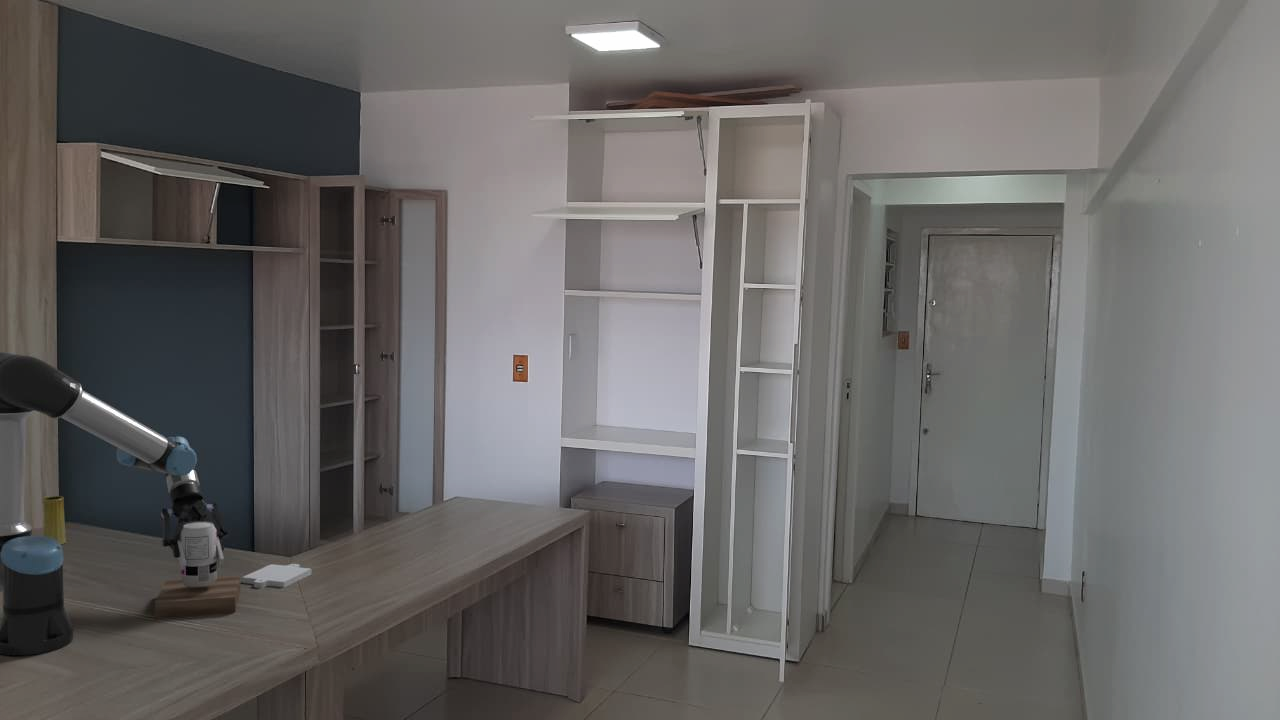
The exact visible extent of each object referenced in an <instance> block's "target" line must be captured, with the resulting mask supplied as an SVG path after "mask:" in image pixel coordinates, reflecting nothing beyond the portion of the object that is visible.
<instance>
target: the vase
mask: <svg viewBox="0 0 1280 720" xmlns="http://www.w3.org/2000/svg"><path fill="white" fill-rule="evenodd" d="M64 500H65V499H64V496H62V495H56V496H55V495H54V496H52V495H51V496H46V497H44V498H43V536H45V537H50V538H53V539H55V540H57V541H58V542H59V543H60V544H62V545H64V543H65V544H66V543H67V539H66V537H67V536H66V525H65V523H66V522H65V508H64V507H65V502H64Z"/></svg>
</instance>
